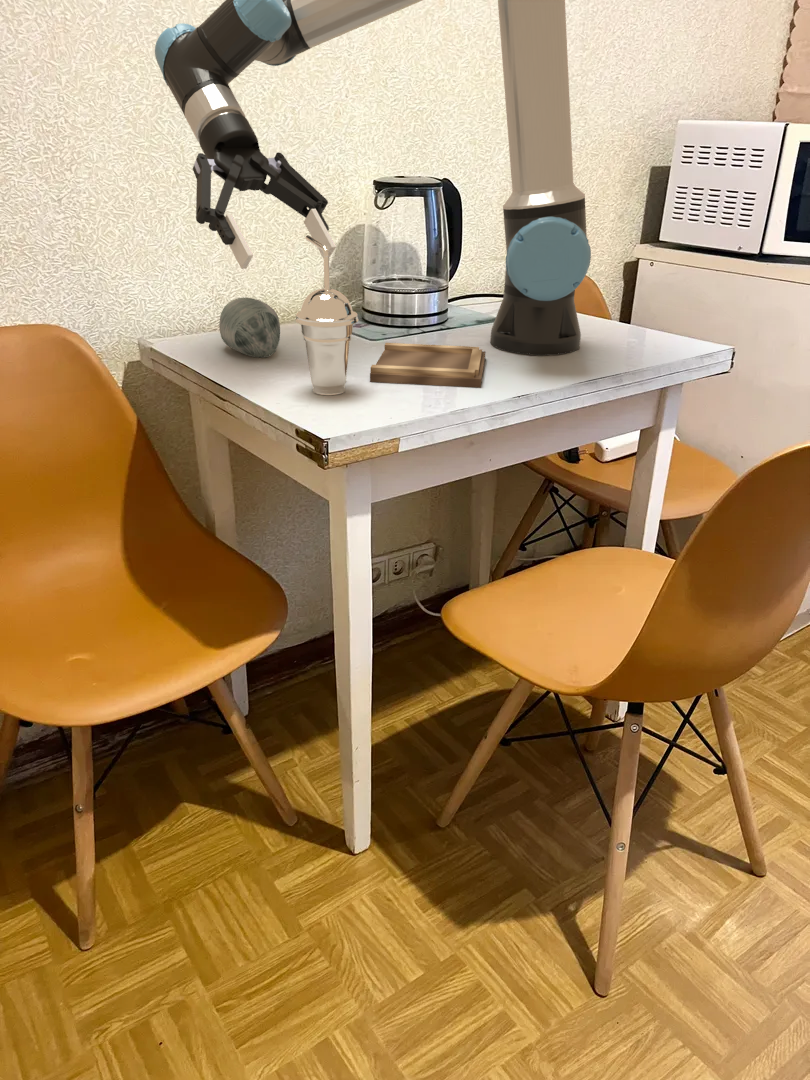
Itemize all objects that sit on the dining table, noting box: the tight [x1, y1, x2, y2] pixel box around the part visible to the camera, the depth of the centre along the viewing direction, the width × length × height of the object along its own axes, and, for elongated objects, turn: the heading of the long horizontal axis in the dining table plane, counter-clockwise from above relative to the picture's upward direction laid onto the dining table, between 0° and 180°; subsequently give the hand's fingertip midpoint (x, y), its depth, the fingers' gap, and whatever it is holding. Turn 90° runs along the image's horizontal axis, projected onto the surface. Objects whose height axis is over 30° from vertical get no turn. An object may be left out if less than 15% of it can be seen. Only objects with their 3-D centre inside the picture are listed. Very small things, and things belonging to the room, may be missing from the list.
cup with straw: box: [294, 234, 359, 396], centre depth 110 cm, size 8×9×20 cm
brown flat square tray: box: [369, 342, 486, 389], centre depth 124 cm, size 16×16×2 cm
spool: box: [218, 296, 281, 359], centre depth 132 cm, size 14×10×10 cm
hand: (290, 257), depth 111 cm, fingers open, 13 cm apart
